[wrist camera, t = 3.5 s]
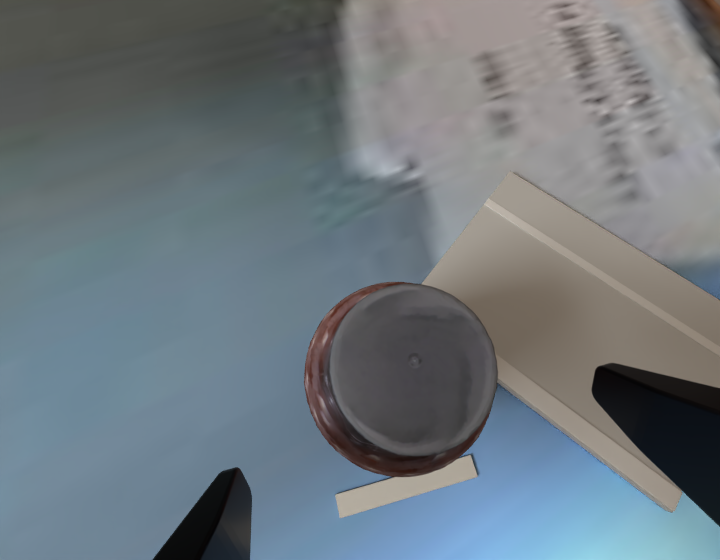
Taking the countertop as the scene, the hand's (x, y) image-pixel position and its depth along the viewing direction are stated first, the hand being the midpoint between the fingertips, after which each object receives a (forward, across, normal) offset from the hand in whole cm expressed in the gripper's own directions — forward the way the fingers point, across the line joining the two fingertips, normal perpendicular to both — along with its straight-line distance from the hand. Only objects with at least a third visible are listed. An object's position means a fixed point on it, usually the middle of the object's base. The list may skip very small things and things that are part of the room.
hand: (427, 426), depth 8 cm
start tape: (+5, 0, -10) cm, 11 cm away
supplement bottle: (+8, 0, -6) cm, 11 cm away
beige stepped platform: (+9, +12, -6) cm, 16 cm away
